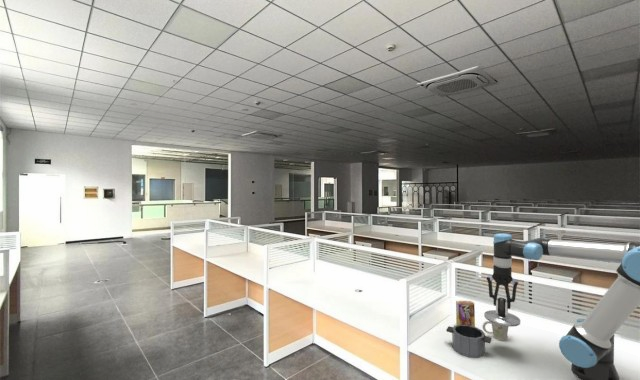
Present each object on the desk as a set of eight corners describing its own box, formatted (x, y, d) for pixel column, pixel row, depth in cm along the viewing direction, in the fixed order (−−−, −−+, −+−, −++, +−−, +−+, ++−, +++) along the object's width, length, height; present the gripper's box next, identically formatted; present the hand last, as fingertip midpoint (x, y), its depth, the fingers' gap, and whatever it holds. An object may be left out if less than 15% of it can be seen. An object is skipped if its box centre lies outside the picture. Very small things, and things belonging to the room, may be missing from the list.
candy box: (472, 326, 171) (471, 300, 171) (475, 330, 167) (475, 303, 166) (455, 326, 172) (455, 300, 172) (458, 330, 168) (458, 303, 167)
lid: (521, 317, 147) (522, 297, 146) (518, 329, 135) (518, 307, 135) (487, 309, 156) (487, 290, 156) (481, 320, 144) (481, 299, 144)
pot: (493, 349, 148) (493, 331, 148) (488, 363, 137) (488, 343, 136) (451, 337, 160) (451, 320, 160) (443, 349, 149) (443, 331, 149)
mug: (511, 342, 154) (512, 323, 154) (485, 340, 157) (485, 321, 156) (505, 334, 162) (505, 316, 162) (480, 332, 165) (480, 314, 164)
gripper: (523, 266, 143) (522, 315, 143) (485, 261, 153) (484, 306, 154) (521, 270, 137) (521, 321, 138) (482, 264, 147) (481, 311, 148)
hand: (501, 313), depth 146 cm, fingers closed on lid, 3 cm apart
